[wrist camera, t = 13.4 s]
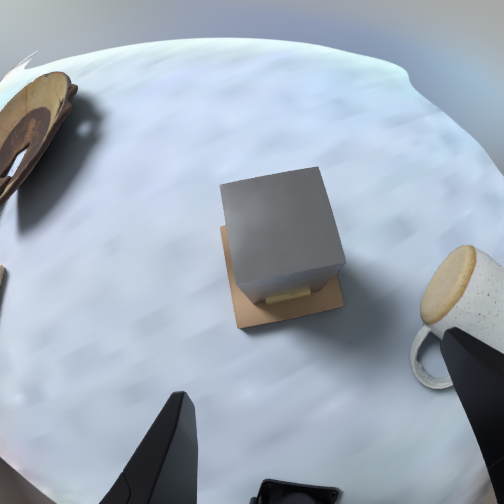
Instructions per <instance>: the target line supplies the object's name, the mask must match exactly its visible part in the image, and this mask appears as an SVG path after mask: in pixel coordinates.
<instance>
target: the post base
mask: <svg viewBox="0 0 504 504" xmlns="http://www.w3.org/2000/svg"><path fill="white" fill-rule="evenodd" d="M220 230H221V236H222V242H223V249H224V255H225V261H226V266H227V272H228V278H229V284H230V290H231V295H232V301H233V307H234V312H235V318H236V323H237V328H238V329H241V328H246V327H252V326H257V325H262V324H267V323H272V322H277V321H282V320H287V319H292V318H296V317H301V316H306V315H310V314H314V313H319V312H323V311H327V310H332V309H336V308H340V307H343V306H344V302H343V298H342V293H341V289H340V285H339V281H338V276H337V273H336V274H335V275H334V276H333V277H332V278H331V279H330V281H329V282H328V283H327V284H326V285H325V286H324V287H323V288H322V289H321V291H317V292H313V293H311V294H310V296H308V297H303V298H299V299H294V300H289V301H284V302H279V303H274V304H269V305H267V303H266V302H263V303H258V304H253V303H252V302H251V301H250V300H249V299H248V298H247V297H246V295H245V294H244V293H243V292H242V291H241V290H240V289H239V287H238V286H237V285H236V282H235V277H234V271H233V265H232V259H231V253H230V247H229V240H228V234H227V228H226V226H221V227H220Z"/></svg>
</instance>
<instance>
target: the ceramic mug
mask: <svg viewBox="0 0 504 504" xmlns="http://www.w3.org/2000/svg"><path fill="white" fill-rule="evenodd" d="M420 313H421V318H422V320H423V322H424V326H423V327H422V328H421V329H420V330H419V331H418V333H417V335H416V337H415V339H414V341H413V343H412V345H411V349H410V356H409V359H410V365H411V368H412V370H413V373H414V375H415V377H416V378H417V379H418V380H419V381H420V382H421V383H422V384H423V385H425V386H427V387H429V388H432V389H442V388H446V387H449V386H452V385H453V383H452V380H451V377H450V375H449V376H446V377H443V378H439V379H437V378H433V377H431V376H430V375H429V374H428V373H427V372H426V371H425V370H424V369H423V368H422V364H421V363H419V362H418V361H417V360H416V359H417V354H418V349H419V348H420V346H421V344H422V342H423V340H424V339H425V338H426V337H427V335H428V333H430V332H432V333H433V334H434V335H436V336H437V337H438V338H440V339H441V340H442V338H443V335H444V332H445V330H446V329H448V328H451V327H454V326H455V327H458V328H460V329H462V330H463V331H465V332H467V333H469V334H470V335H472V336H474V337H476V338H477V339H479V340H481V341H483V342H484V343H486V344H488V345H489V346H491V347H493V348H495V349H496V350H498V351H500V352H501V353H503V354H504V268H503V267H502V266H501V265H500V264H499V263H497V262H496V261H495V260H494V259H493V258H491V257H490V256H489V255H488V254H486V253H485V252H483V251H481V250H479V249H477V248H475V247H473V246H470V245H463V246H460V247H458V248H456V249H455V250H454V251H453V252H451V253H450V254H449V255H448V256H447V258H446V259H445V260H444V261H443V263H442V264H441V265H440V267H439V268H438V269H437V271H436V272H435V274H434V276H433V278H432V279H431V281H430V283H429V285H428V287H427V289H426V291H425V294H424V296H423V299H422V302H421V311H420Z"/></svg>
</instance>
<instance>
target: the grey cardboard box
mask: <svg viewBox="0 0 504 504" xmlns="http://www.w3.org/2000/svg"><path fill="white" fill-rule="evenodd" d="M220 190H221V196H222V203H223V209H224V216H225V222H226V228H227V234H228V240H229V247H230V253H231V259H232V265H233V271H234V277H235V282H236V285H237V286H238V287H239V289H240V290H241V291H242V292H243V293H244V294H245V295H246V297H247V298H248V299H249V300H250V301H251V302H252V303H253V304H258V303H263V302H266V303H267V305H269V304H274V303H279V302H284V301H289V300H294V299H299V298H303V297H308V296H310V294H311V293H313V292H317V291H321V289H322V288H323V287H324V286H325V285H326V284H327V283H328V282H329V281H330V279H331V278H332V277H333V276H334V275H335V274H336V273H337V272H338V271H339V269H340V268H341V267H342V266H343V265H344V264H345V263H346V260H345V256H344V252H343V248H342V245H341V241H340V237H339V233H338V230H337V226H336V223H335V219H334V216H333V212H332V209H331V206H330V202H329V199H328V196H327V192H326V189H325V186H324V183H323V180H322V176H321V173H320V170H319V167H312V168H306V169H300V170H294V171H288V172H282V173H277V174H272V175H266V176H261V177H256V178H251V179H246V180H241V181H236V182H231V183H227V184H222V185H220Z"/></svg>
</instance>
